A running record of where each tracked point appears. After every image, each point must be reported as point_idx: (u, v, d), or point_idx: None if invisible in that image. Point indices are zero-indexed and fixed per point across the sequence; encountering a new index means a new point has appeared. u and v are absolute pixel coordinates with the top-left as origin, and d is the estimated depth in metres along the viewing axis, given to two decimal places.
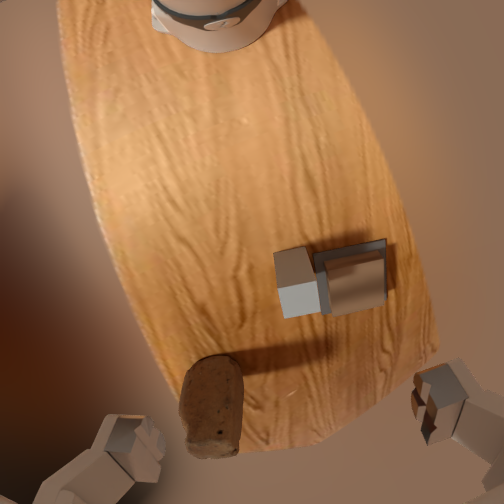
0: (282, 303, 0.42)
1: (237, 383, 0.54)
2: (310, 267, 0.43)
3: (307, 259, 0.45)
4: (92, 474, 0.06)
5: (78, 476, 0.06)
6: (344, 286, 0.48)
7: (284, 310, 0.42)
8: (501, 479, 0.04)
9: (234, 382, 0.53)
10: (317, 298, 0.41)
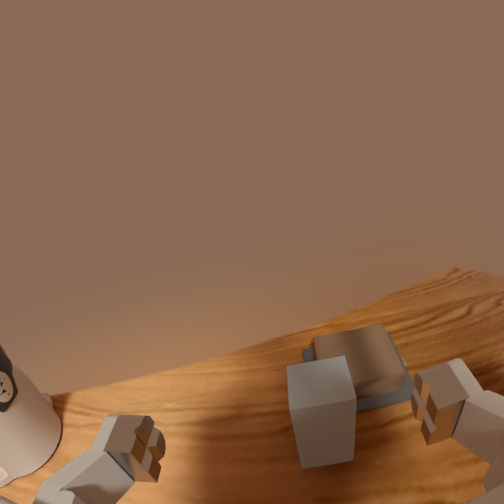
0: (322, 402, 0.21)
1: None
2: None
3: None
4: (92, 474, 0.06)
5: (78, 476, 0.06)
6: (350, 367, 0.32)
7: (337, 399, 0.21)
8: (501, 479, 0.04)
9: None
10: (319, 361, 0.25)
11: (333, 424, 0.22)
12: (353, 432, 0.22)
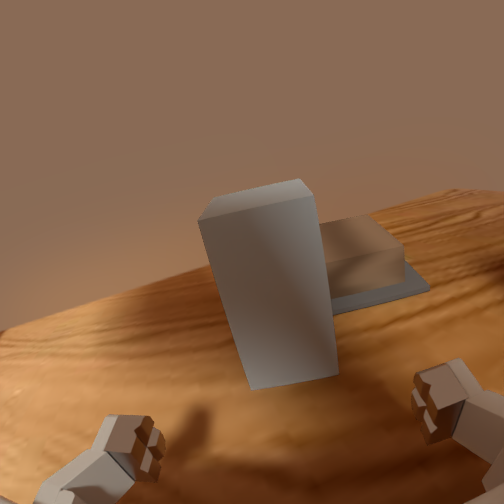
0: (253, 206, 0.13)
1: None
2: None
3: None
4: (92, 474, 0.06)
5: (78, 476, 0.06)
6: (325, 249, 0.24)
7: (281, 200, 0.13)
8: (500, 480, 0.04)
9: None
10: (261, 187, 0.18)
11: (285, 267, 0.14)
12: (326, 294, 0.15)
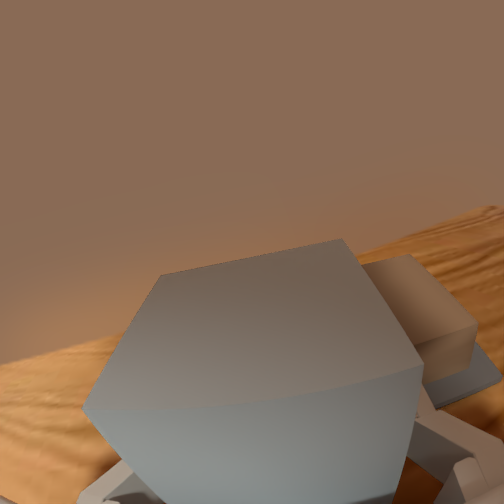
0: (231, 395, 0.04)
1: None
2: None
3: None
4: (136, 480, 0.06)
5: (122, 483, 0.06)
6: None
7: (320, 377, 0.04)
8: None
9: None
10: (258, 258, 0.08)
11: (311, 489, 0.05)
12: (386, 501, 0.05)
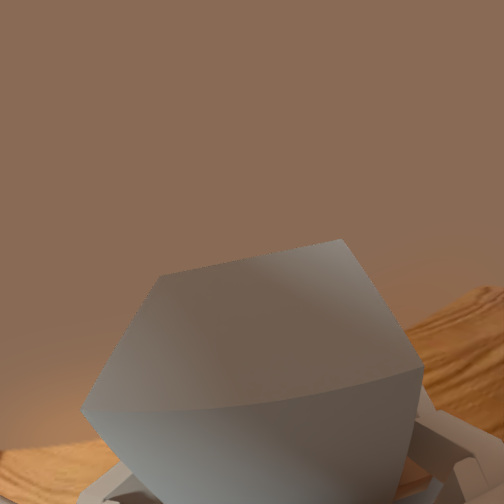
0: (230, 397, 0.04)
1: None
2: None
3: None
4: (136, 480, 0.06)
5: (122, 483, 0.06)
6: None
7: (319, 379, 0.04)
8: None
9: None
10: (258, 259, 0.08)
11: (310, 491, 0.05)
12: (386, 502, 0.05)
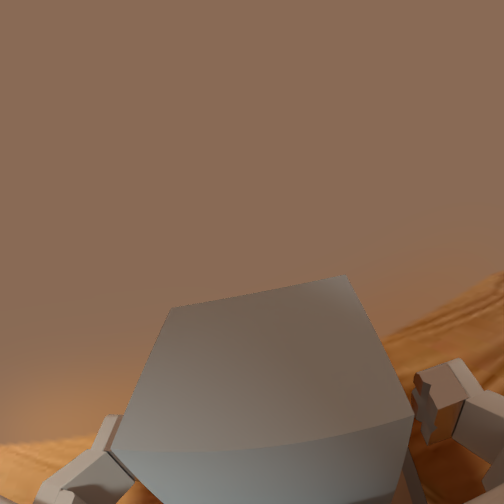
0: (246, 439, 0.04)
1: None
2: None
3: None
4: (92, 474, 0.06)
5: (78, 476, 0.06)
6: None
7: (324, 425, 0.04)
8: (501, 479, 0.04)
9: None
10: (265, 294, 0.09)
11: None
12: None
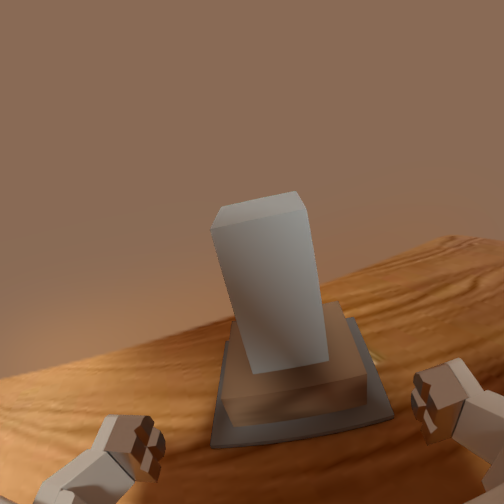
0: (256, 218, 0.16)
1: None
2: None
3: None
4: (92, 474, 0.06)
5: (78, 476, 0.06)
6: None
7: (279, 212, 0.16)
8: (501, 479, 0.04)
9: None
10: (262, 198, 0.21)
11: (282, 268, 0.17)
12: (317, 290, 0.18)
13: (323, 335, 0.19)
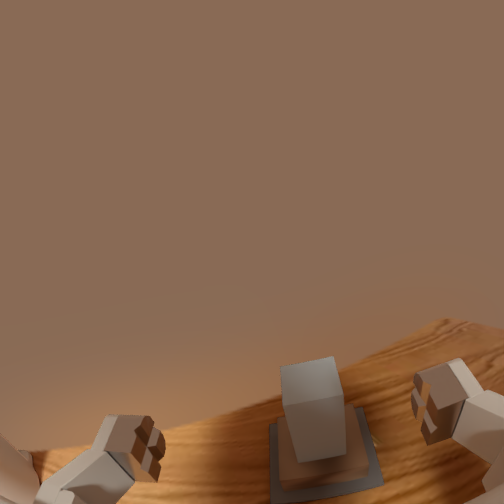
0: (312, 398, 0.24)
1: None
2: None
3: None
4: (92, 474, 0.06)
5: (78, 476, 0.06)
6: None
7: (326, 395, 0.24)
8: (500, 480, 0.04)
9: None
10: (309, 362, 0.28)
11: (324, 419, 0.24)
12: (343, 426, 0.25)
13: (344, 444, 0.26)
